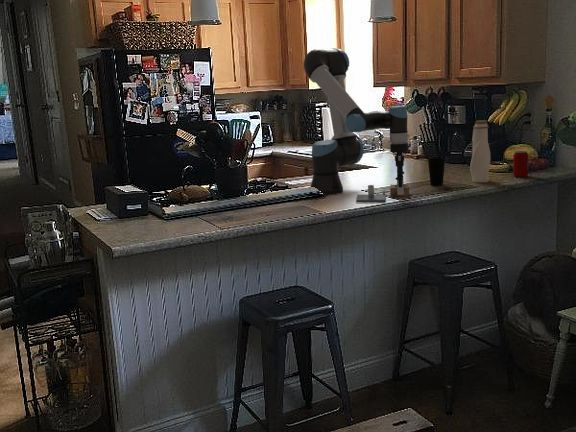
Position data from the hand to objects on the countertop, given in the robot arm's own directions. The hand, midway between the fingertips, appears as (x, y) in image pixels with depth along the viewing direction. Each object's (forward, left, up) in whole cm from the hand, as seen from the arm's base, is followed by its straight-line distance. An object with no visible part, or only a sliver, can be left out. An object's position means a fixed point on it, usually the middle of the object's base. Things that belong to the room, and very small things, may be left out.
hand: (400, 191), depth 276 cm
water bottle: (+37, +30, -2) cm, 48 cm away
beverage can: (+57, +39, -2) cm, 69 cm away
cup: (+17, +23, -2) cm, 29 cm away
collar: (0, 0, -1) cm, 1 cm away
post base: (-12, -9, -1) cm, 15 cm away
